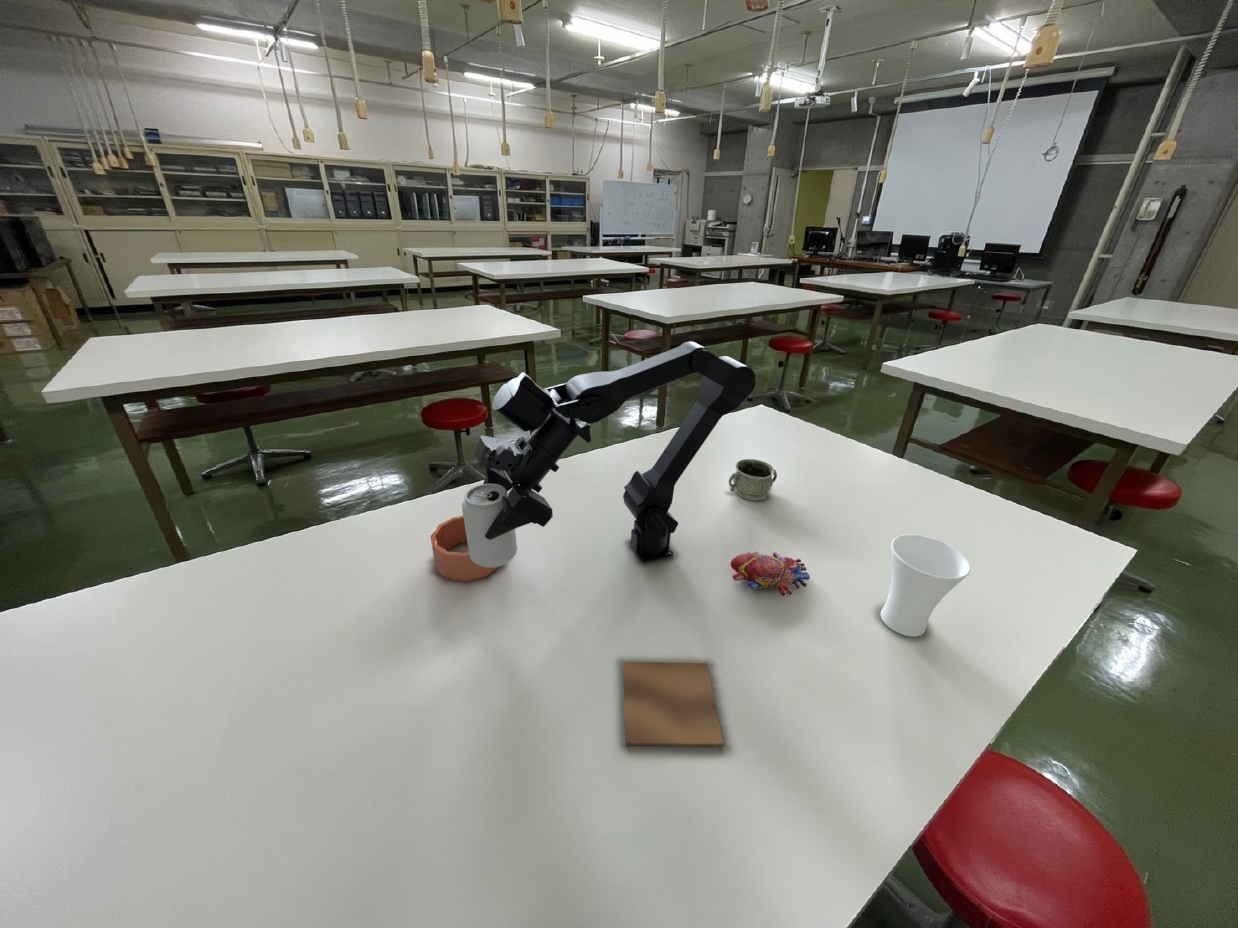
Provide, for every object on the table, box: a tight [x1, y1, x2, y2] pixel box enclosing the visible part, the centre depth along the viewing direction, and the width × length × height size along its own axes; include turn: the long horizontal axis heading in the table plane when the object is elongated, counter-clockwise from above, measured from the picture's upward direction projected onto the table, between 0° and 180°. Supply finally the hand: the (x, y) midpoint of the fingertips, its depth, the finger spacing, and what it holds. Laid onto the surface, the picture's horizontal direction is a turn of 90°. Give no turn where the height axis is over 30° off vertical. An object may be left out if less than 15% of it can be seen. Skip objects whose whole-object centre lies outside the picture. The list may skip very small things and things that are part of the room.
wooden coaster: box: [622, 661, 724, 747], centre depth 66 cm, size 12×12×1 cm
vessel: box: [728, 458, 778, 501], centre depth 113 cm, size 12×9×6 cm
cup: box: [880, 533, 972, 638], centre depth 77 cm, size 10×10×14 cm
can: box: [461, 483, 518, 568], centre depth 78 cm, size 8×8×12 cm
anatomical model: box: [730, 551, 811, 596], centre depth 87 cm, size 11×4×15 cm
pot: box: [430, 515, 501, 582], centre depth 89 cm, size 12×12×6 cm
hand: (481, 524), depth 77 cm, fingers closed on can, 7 cm apart
